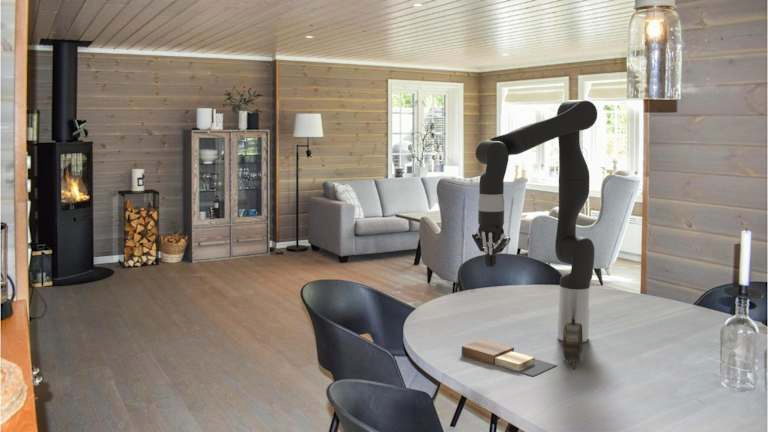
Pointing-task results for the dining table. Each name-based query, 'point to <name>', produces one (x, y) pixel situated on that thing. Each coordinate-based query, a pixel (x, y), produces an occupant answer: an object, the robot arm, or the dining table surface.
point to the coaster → (514, 361)
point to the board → (485, 351)
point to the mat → (535, 368)
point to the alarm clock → (573, 342)
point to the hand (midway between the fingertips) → (490, 266)
